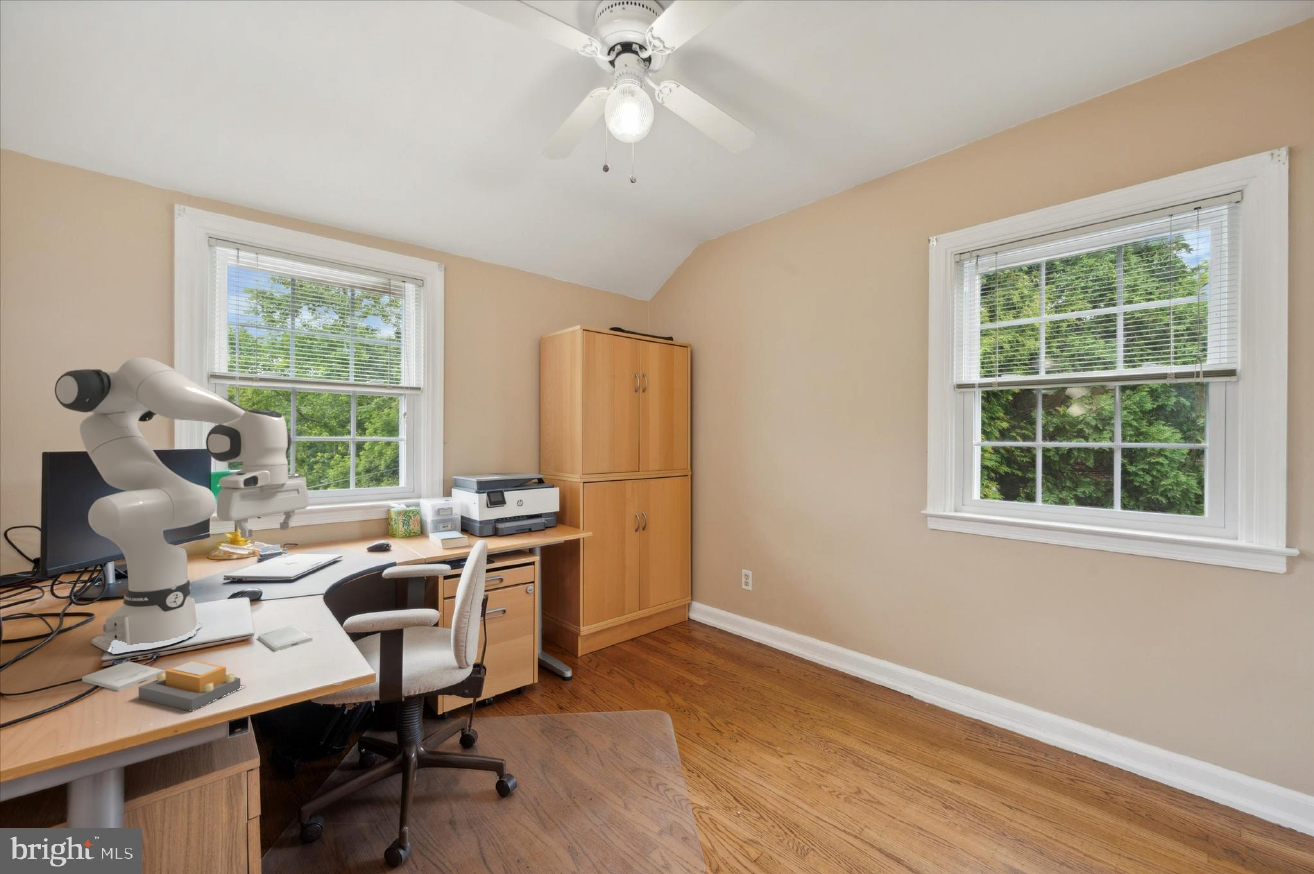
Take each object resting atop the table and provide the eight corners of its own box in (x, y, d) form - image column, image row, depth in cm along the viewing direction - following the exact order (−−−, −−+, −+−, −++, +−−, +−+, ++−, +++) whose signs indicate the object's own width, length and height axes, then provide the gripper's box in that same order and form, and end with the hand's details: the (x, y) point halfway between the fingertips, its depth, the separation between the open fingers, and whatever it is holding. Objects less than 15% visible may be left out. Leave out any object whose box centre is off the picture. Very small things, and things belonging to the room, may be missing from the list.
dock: (138, 698, 108) (138, 681, 108) (194, 676, 118) (193, 660, 118) (192, 711, 104) (192, 693, 104) (245, 687, 113) (245, 670, 113)
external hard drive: (129, 667, 123) (165, 676, 119) (81, 684, 115) (118, 693, 111) (129, 660, 123) (165, 669, 119) (81, 676, 115) (118, 686, 111)
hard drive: (257, 634, 138) (275, 647, 130) (294, 625, 144) (312, 636, 137) (257, 641, 138) (275, 654, 130) (294, 631, 145) (312, 642, 137)
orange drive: (165, 692, 110) (165, 669, 110) (193, 680, 115) (192, 659, 115) (199, 700, 107) (199, 677, 107) (226, 688, 112) (226, 666, 112)
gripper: (296, 472, 140) (296, 524, 141) (211, 480, 121) (212, 541, 121) (314, 473, 138) (315, 526, 139) (231, 481, 119) (232, 543, 119)
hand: (266, 533), depth 130 cm, fingers open, 8 cm apart
